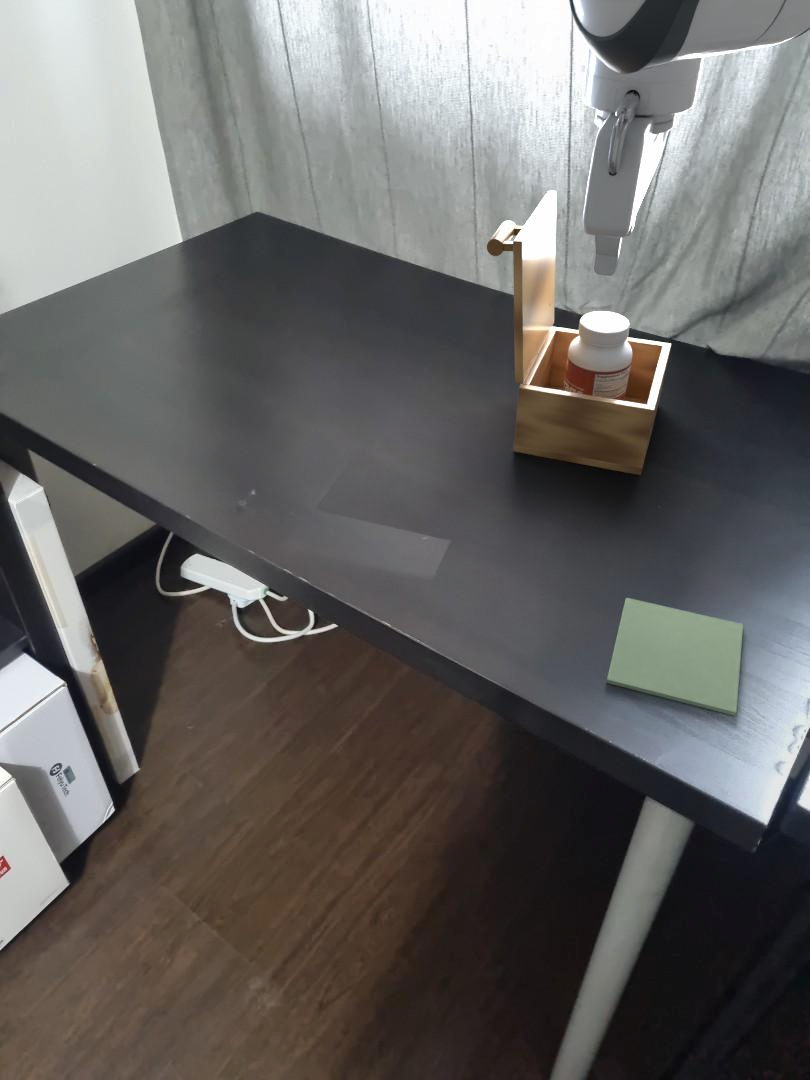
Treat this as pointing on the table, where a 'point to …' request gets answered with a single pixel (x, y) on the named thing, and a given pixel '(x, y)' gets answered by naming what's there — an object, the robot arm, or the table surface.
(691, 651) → the mat
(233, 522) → the table surface
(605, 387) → the pill bottle
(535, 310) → the chest lid
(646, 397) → the chest
